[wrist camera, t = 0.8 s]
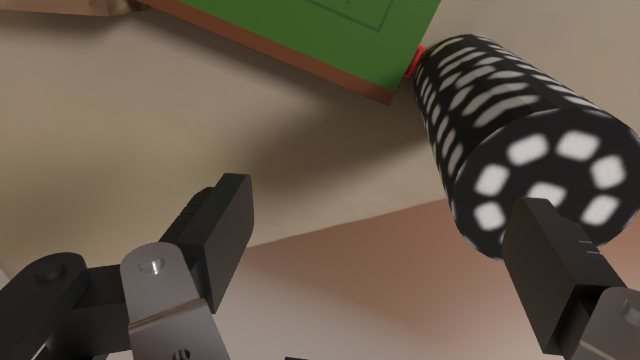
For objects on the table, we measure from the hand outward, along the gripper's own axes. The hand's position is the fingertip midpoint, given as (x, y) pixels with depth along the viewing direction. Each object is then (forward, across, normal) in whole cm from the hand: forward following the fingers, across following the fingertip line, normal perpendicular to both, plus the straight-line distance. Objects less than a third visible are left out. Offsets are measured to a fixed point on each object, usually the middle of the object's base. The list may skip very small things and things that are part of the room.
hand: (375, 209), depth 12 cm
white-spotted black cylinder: (+26, -8, +3) cm, 28 cm away
